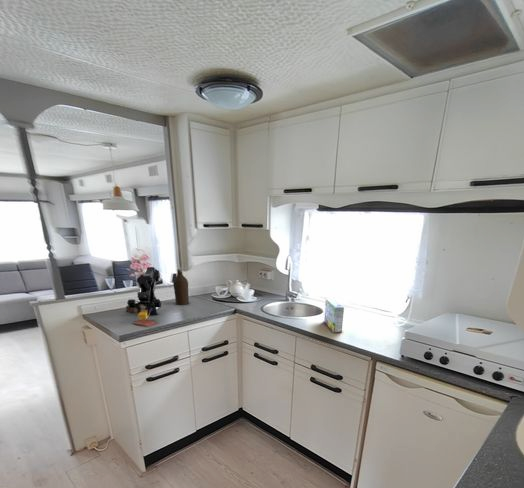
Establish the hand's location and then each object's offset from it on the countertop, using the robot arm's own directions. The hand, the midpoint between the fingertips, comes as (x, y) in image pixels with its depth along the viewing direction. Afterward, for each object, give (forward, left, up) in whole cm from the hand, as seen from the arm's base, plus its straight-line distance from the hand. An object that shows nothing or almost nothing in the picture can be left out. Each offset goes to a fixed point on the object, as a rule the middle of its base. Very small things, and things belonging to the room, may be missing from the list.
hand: (143, 315), depth 194 cm
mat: (-1, -1, -5) cm, 5 cm away
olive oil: (-34, -40, -5) cm, 52 cm away
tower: (+1, -32, -5) cm, 33 cm away
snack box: (-101, +53, -5) cm, 114 cm away
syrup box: (-14, -31, -2) cm, 34 cm away
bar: (-1, -1, -1) cm, 2 cm away
